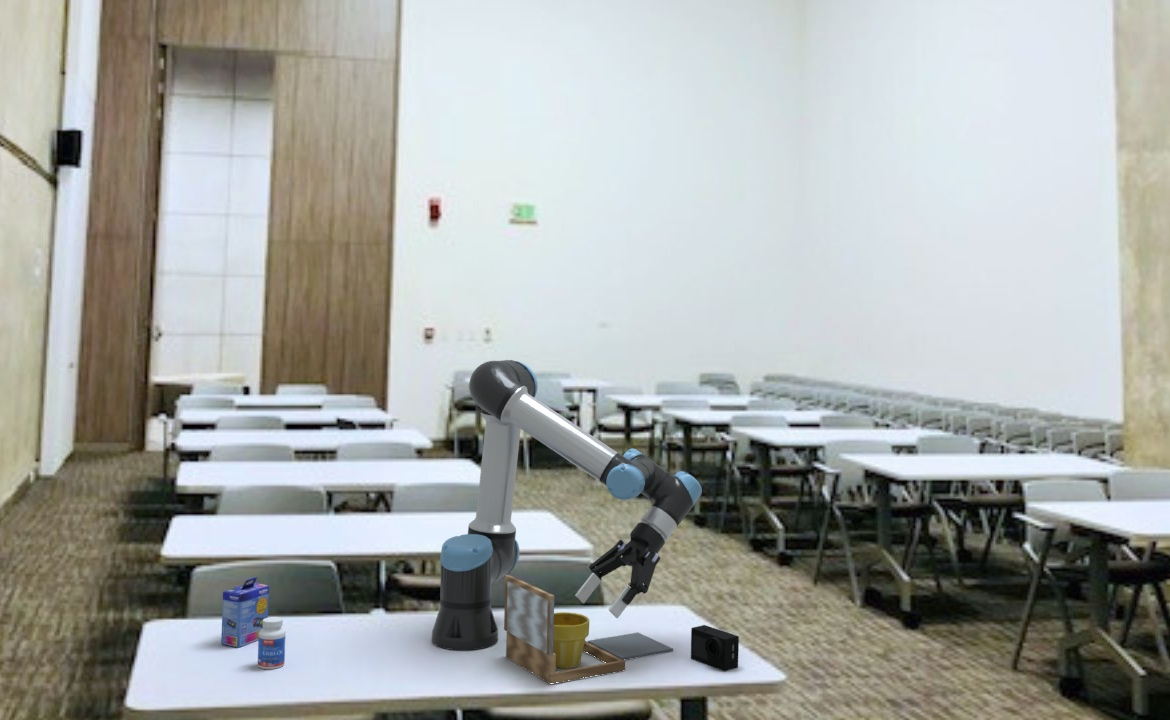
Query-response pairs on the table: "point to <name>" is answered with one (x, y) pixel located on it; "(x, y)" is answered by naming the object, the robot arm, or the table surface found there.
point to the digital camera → (714, 647)
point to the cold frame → (542, 635)
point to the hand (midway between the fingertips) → (595, 606)
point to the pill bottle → (271, 644)
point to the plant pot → (569, 638)
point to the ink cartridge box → (244, 613)
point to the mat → (630, 646)
